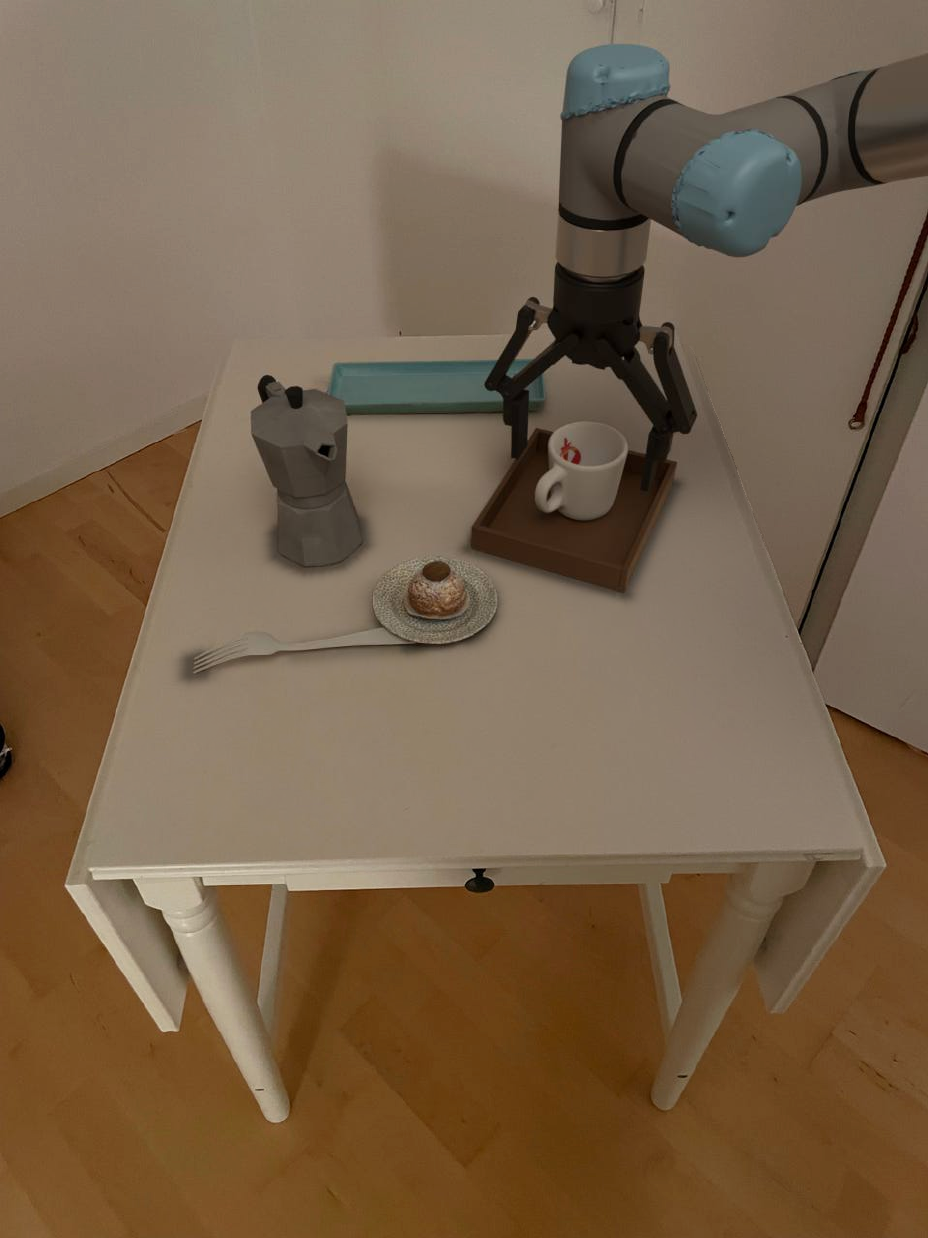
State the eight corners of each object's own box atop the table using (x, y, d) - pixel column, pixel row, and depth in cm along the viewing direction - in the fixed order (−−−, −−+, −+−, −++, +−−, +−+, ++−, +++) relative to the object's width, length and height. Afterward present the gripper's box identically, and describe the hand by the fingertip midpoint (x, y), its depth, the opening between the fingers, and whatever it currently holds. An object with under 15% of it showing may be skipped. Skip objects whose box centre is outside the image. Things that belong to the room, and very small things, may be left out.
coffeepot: (390, 557, 93) (375, 407, 80) (306, 593, 90) (276, 443, 76) (323, 478, 102) (299, 331, 89) (244, 508, 99) (207, 360, 85)
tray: (673, 483, 100) (677, 461, 98) (624, 593, 89) (627, 570, 87) (534, 449, 105) (536, 427, 103) (471, 549, 94) (471, 527, 91)
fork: (421, 662, 86) (423, 643, 84) (193, 677, 83) (189, 657, 81) (417, 640, 88) (419, 621, 86) (194, 654, 85) (190, 634, 83)
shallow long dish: (326, 419, 110) (324, 401, 108) (335, 376, 116) (332, 359, 114) (545, 417, 109) (546, 400, 107) (542, 375, 115) (543, 357, 113)
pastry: (484, 661, 83) (486, 625, 80) (357, 640, 85) (353, 604, 81) (506, 574, 91) (509, 538, 88) (390, 556, 93) (388, 521, 90)
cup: (563, 553, 92) (568, 491, 86) (509, 515, 96) (511, 453, 90) (635, 506, 97) (644, 444, 91) (581, 471, 101) (586, 410, 95)
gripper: (759, 267, 75) (714, 474, 91) (480, 221, 82) (482, 419, 98) (739, 309, 71) (695, 519, 86) (446, 256, 78) (453, 459, 93)
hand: (582, 467), depth 92 cm, fingers open, 13 cm apart
